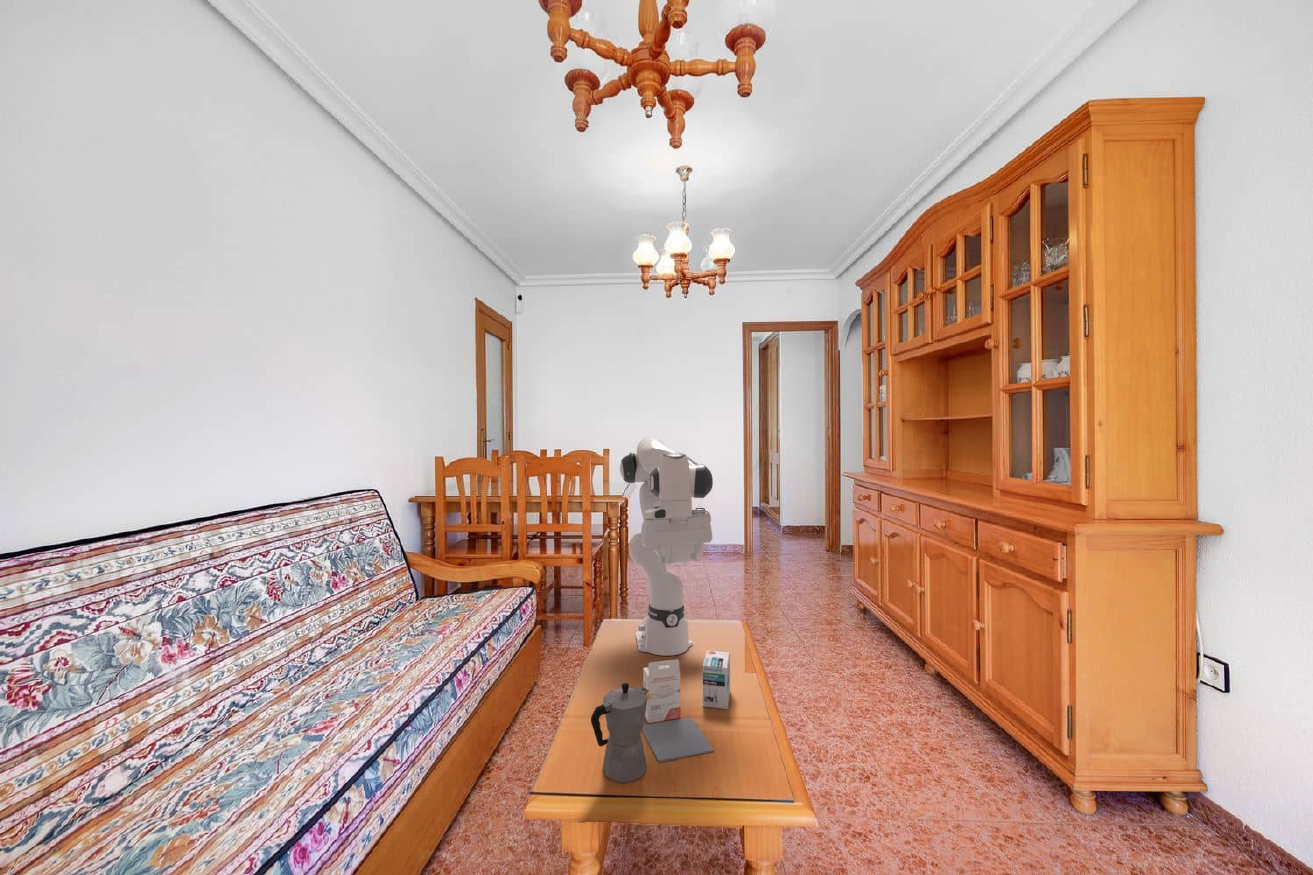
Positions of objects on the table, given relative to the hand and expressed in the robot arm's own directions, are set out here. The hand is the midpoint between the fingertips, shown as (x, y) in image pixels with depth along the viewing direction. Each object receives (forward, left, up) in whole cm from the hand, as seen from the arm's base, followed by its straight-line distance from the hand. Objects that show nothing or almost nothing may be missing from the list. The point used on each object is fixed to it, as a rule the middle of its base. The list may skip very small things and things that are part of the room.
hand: (678, 561), depth 142 cm
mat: (+21, -8, -36) cm, 42 cm away
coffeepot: (+28, -23, -36) cm, 51 cm away
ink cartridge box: (+10, -8, -36) cm, 38 cm away
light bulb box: (+6, +9, -36) cm, 38 cm away
